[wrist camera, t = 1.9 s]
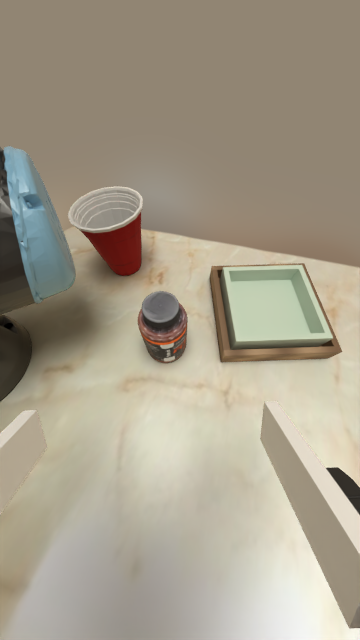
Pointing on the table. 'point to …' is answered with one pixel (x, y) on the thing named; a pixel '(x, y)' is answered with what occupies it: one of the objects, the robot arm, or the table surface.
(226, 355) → the walnut crate
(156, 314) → the supplement bottle
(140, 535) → the table surface
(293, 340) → the grey-green crate
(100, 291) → the table surface
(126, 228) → the plastic cup
